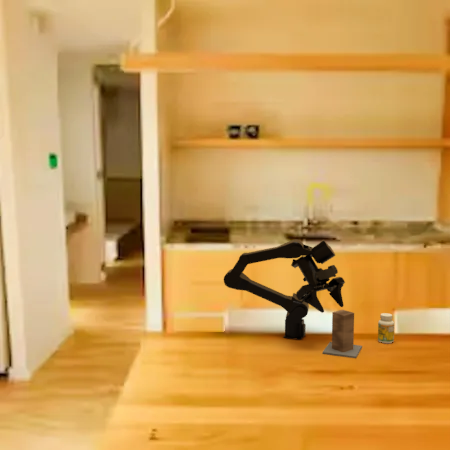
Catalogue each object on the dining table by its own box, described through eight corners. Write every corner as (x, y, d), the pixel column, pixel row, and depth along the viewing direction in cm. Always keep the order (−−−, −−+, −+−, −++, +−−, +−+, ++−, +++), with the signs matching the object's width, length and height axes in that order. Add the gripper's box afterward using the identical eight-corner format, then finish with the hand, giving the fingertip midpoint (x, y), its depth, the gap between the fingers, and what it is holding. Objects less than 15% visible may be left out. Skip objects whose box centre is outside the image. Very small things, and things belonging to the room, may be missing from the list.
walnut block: (331, 348, 197) (332, 312, 196) (341, 345, 200) (342, 309, 199) (343, 352, 193) (344, 315, 192) (353, 349, 196) (354, 312, 195)
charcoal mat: (322, 353, 194) (322, 351, 194) (330, 343, 204) (330, 341, 204) (356, 358, 190) (356, 356, 190) (362, 347, 200) (362, 345, 200)
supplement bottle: (396, 342, 205) (397, 315, 204) (385, 344, 202) (386, 317, 201) (386, 337, 210) (386, 311, 208) (374, 340, 207) (375, 313, 206)
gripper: (302, 262, 195) (325, 302, 188) (341, 254, 206) (365, 291, 199) (286, 280, 203) (308, 319, 196) (325, 271, 213) (347, 308, 207)
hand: (333, 309), depth 199 cm, fingers open, 9 cm apart
